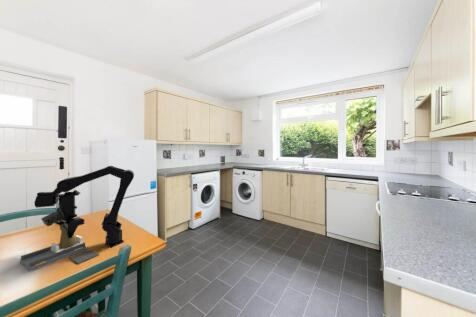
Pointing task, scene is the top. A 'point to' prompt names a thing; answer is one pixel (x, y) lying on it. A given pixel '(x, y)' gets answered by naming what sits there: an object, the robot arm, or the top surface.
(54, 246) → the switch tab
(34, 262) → the grey slide rail tray
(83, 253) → the rubber pad
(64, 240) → the cork
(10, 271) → the top surface
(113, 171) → the robot arm
